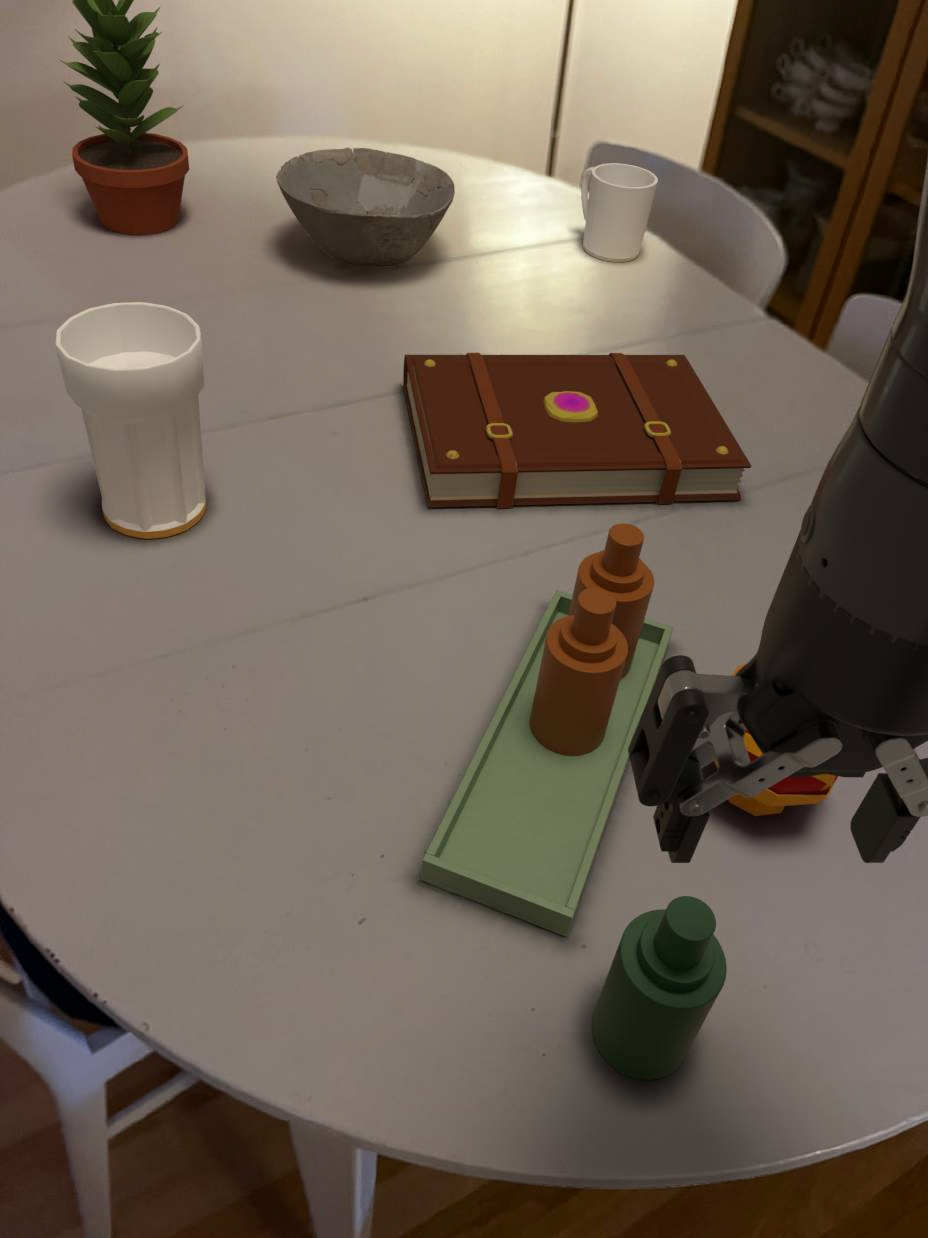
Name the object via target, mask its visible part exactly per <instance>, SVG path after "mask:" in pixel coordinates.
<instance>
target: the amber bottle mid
mask: <svg viewBox="0 0 928 1238" xmlns="http://www.w3.org/2000/svg"><path fill="white" fill-rule="evenodd" d="M615 608H616V600H615V598H614V596H613V595H612V594H611V593H609V592H608V591H606V590H603V589H600V588H588V589H585V590H583V591H582V592H581V593H580V594H579V596H578V600H577V605H576V609H575V614H574V615H570V616H566V617H563V618H561V619H559V620H557V621H556V622H554V623H553V624H552V625H551V626H550V628H549V630H548V632H547V635H546V640H545V645H544V650H543V655H542V660H541V665H540V670H539V675H538V680H537V685H536V690H535V695H534V701H533V706H532V711H531V716H530V728H531V731H532V734H533V735H534V737H535V738H536V740H537V741H538V742H539V743H540V744H541V745H542V746H544V747H545V748H547V749H549V750H550V751H553V752H555V753H558V754H561V755H567V756H578V755H584V754H587V753H590V752H592V751H593V750H595V749H596V748H597V747H598V746H599V745H600V744H601V743H602V741H603V739H604V736H605V733H606V729H607V726H608V722H609V719H610V715H611V711H612V708H613V704H614V701H615V697H616V694H617V690H618V686H619V683H620V679H621V676H622V672H623V668H624V665H625V661H626V658H627V654H628V644H627V640H626V638H625V636H624V635H623V633H622V632H621V631H620V630H619V629H618V628H617V627H616V626H614V625H613V624H612V620H613V616H614V612H615Z"/></svg>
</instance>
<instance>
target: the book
mask: <svg viewBox="0 0 928 1238" xmlns="http://www.w3.org/2000/svg"><path fill="white" fill-rule="evenodd" d="M402 374H403V376H402V385H403V392H404V396H405V401H406V407H407V412H408V417H409V421H410V426H411V430H412V435H413V441H414V445H415V450H416V455H417V459H418V464H419V470H420V473H421V478H422V484H423V489H424V493H425V499H426V503H427V507H428V508H452V507H453V508H455V507H456V508H457V507H461V508H462V507H495V506H496V508H497V509H509V508H510V509H511V508H514V506H535V505H539V506H540V505H578V504H579V505H580V504H583V505H584V504H616V503H619V504H621V503H623V504H624V503H656V504H658V505H667V504H668V505H669V504H671V505H672V504H673V502H697V501H698V502H699V501H735V500H736V501H739V500H741V498H742V494H741V493H740V491H739V488H740V483H741V482H742V480H741V478H742V477H743V476H744V475H743V473H744V472H746V469H751V468H752V467H753V466H752V464H751V462H750V460H749V459H748V458H747V456H746V454H745V452H744V450H743V449H742V447H741V446H740V444H739V442H738V441H737V438H736V437H735V435H734V434H733V432H732V431H731V429H730V427H729V426H728V424H727V423H726V420H724V418H723V416H722V414H721V413H720V410H719V409H718V407H717V406H716V404H715V403H714V401H713V399H712V398H711V395H710V394H709V393H708V391H707V390H706V388H705V386H704V384H703V383H702V381H701V379H700V378H699V376H698V374H697V372H696V371H695V370H694V368H693V366H692V365H691V363H690V361H689V359H688V357H687V356H686V355H685V354H624V353H622V352H609V353H608V354H481V353H480V352H466V354H404V357H403V373H402Z"/></svg>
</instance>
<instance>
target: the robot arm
mask: <svg viewBox="0 0 928 1238" xmlns="http://www.w3.org/2000/svg"><path fill="white" fill-rule="evenodd" d="M919 203H920V204H919V211H918V218H917V225H916V233H915V241H914V247H913V255H912V264H911V265H912V266H911V271H910V276H909V281H908V285H907V289H906V293H905V296H904V298H903V301H902V303H901V306H900V308H899V310H898V311H897V315H896V316H895V318H894V321H893V323H892V326H891V327H890V330H889V333H888V335H887V337H886V340H885V341H884V344H883V347H882V350H881V352H880V355H879V357H878V360H877V362H876V364H875V367H874V369H873V371H872V374H871V376H870V379H869V381H868V383H867V386H866V388H865V391H864V394H863V395H862V399H861V401H860V405H859V406H858V408H857V411H856V413H855V415H854V417H853V419H852V421H851V423H850V425H849V426H848V428H847V430H846V432H845V433H844V435H843V436H842V438H841V439H840V441H839V443H838V444H837V446H836V448H835V450H834V452H833V453H832V455H831V456H830V459H829V460H828V462H827V465H826V467H825V469H824V471H823V473H822V476H821V478H820V480H819V483H818V486H817V488H816V490H815V493H814V495H813V497H812V500H811V502H810V505H809V506H808V508H807V510H806V512H805V513H804V515H803V517H802V521H801V526H800V530H799V533H798V535H797V537H796V540H795V542H794V545H793V548H792V550H791V553H790V555H789V557H788V561H787V562H786V565H785V567H784V570H783V572H782V576H780V577H781V578H780V580H779V582H778V584H777V588H776V590H775V592H774V595H773V597H772V600H771V602H770V605H769V608H768V610H767V613H766V615H765V618H764V622H763V627H762V631H761V636H760V640H759V645H758V649H757V652H756V653H755V654H754V655H753V657H752V658H751V659H750V660H749V661H748V662H747V663H745V664H746V665H745V666H743V667H742V668H741V669H740V670H739V671H738V672H737V673H736V675H735V676H731V675H724V674H707V673H706V674H705V673H697V670H696V666H695V664H694V661H693V659H692V658H691V657H689V656H687V655H683V654H681V655H679V654H678V655H677V654H676V655H674V656H671V657H669V658H667V659H666V660H665V661H663V662H662V663H661V666H660V669H659V672H658V675H657V678H656V681H655V683H654V686H653V688H652V691H651V693H650V695H649V698H648V700H647V703H646V705H645V708H644V710H643V713H642V715H641V718H640V720H639V723H638V725H637V728H636V730H635V732H634V735H633V737H632V740H631V742H630V745H629V747H628V753H629V761H630V766H631V770H632V775H633V779H634V785H635V789H636V793H637V797H638V802H639V803H640V804H641V805H643V806H645V807H656V809H655V811H654V813H653V815H652V818H653V822H654V826H655V830H656V831H655V832H656V835H657V839H658V844H659V848H660V850H661V852H662V853H663V852H664V853H665V852H666V853H668V856H669V860H670V863H672V864H690V862H691V861H692V859H693V856H694V854H695V852H696V850H697V848H698V845H699V842H700V841H701V838H702V836H703V834H704V832H705V831H704V830H705V829H706V826H707V824H708V822H709V819H710V817H711V815H710V811H711V810H713V809H715V808H716V807H718V806H719V805H721V804H723V803H724V802H726V801H728V799H729V798H731V797H733V796H734V795H736V794H741V795H743V796H744V797H747V798H751V797H754V796H756V795H757V794H759V793H761V792H762V791H764V790H766V789H767V788H769V787H771V786H773V785H774V784H776V783H778V782H779V781H781V780H783V779H784V778H786V777H809V776H815V775H822V774H830V775H835V776H838V777H840V778H864V776H865V775H866V774H867V773H869V772H872V771H873V772H874V771H877V770H879V769H881V768H882V769H884V771H885V772H879V773H877V775H876V777H875V779H874V780H873V782H872V783H871V785H870V786H869V789H868V790H867V792H866V794H865V795H864V797H863V799H862V800H861V802H860V804H859V806H858V807H857V809H856V811H855V813H854V814H853V816H852V818H851V820H850V832H851V833H850V834H852V838H853V841H854V843H855V846H856V848H857V851H858V853H859V855H860V858H861V860H862V862H863V863H865V864H883V863H884V862H885V861H886V860H887V858H888V857H889V855H890V853H892V852H895V851H896V850H898V849H899V848H900V847H901V846H902V845H904V843H905V841H906V840H907V838H908V837H909V835H910V834H911V832H912V831H913V829H914V828H915V827H916V825H917V824H918V822H919V821H920V819H921V818H922V817H927V816H928V757H924V758H920V757H919V755H918V753H917V751H916V749H917V748H918V747H920V746H922V745H923V744H925V743H926V742H928V152H927V153H926V161H925V170H924V175H923V183H922V190H921V197H920V202H919ZM747 730H748V732H749V734H750V735H751V737H752V738H753V740H754V741H755V743H756V744H757V746H758V748H759V749H760V751H761V752H762V754H763V755H761V756H760V757H758V758H757V759H755V760H753V761H752V762H750V759H749V756H748V753H747V750H746V747H745V744H744V735H745V733H746V731H747ZM716 759H717V761H718V768H716V771H715V772H714V773H712V774H710V775H709V776H707V777H706V778H704V774H703V771H702V769H704V768H705V767H707V766H708V765H710V764H712V763H713V762H714V760H716Z"/></svg>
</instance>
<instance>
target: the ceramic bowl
mask: <svg viewBox="0 0 928 1238" xmlns="http://www.w3.org/2000/svg"><path fill="white" fill-rule="evenodd" d="M275 177H276V178H275V179H276V183H277V185H278V188H279V189H280V192H281V195H282V197H283V198H284V200H285V202H286V204H287V205H288V207H289V209H290V210H291V212H292V214H293V215H294V217H295V218H296V220H297V222H298V223H299V225H300V226H301V227H302V228H303V230H304V231H305V233H306V235H308V236H309V238H310V239H311V241H313V242H314V243H315V244H316V245H317V246H318V247H319V248H320V249H321V251H322V252H324V253H325V254H326V255H328V256H329V257H331V258H333V259H334V260H336V261H339V262H340V263H343V264H346V265H348V266H353V267H354V266H355V267H365V268H366V267H367V268H376V267H377V268H386V267H387V268H388V267H397V266H399V265H402V264H404V263H406V262H408V261H409V260H410V259H412V257H414V256H415V255H416V254H418V253H419V252H420V251H421V250H422V249H423V247H424V246H425V245H426V243H428V241H429V240H430V239H431V237H432V236H433V235H434V233H435V232H436V230H437V228H438V227H439V225H440V224H441V223H442V221H443V218H444V217H445V215H446V213H447V212H448V210H449V208H450V207H451V204H452V203H453V202H454V198H455V193H456V190H455V183H454V181H453V179H452V178H451V176H450V175H449V174H448V173H447V172H446V171H444V170H443V169H441V168H440V167H438V166H436V165H433V164H432V163H429V162H425V161H424V160H420V159H416V158H415V157H412V156H408V155H404V154H400V153H394V152H389V151H387V152H386V151H383V150H378V149H373V148H368V147H367V148H366V147H353V148H350V147H344V148H330V149H329V148H328V149H318V150H313V151H309V152H305V153H303V154H299V156H294V157H291V158H289V159H288V161H285V162H284V163H283V164H282V165H281V166H280V169H278V171H277V173H276V176H275Z"/></svg>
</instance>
